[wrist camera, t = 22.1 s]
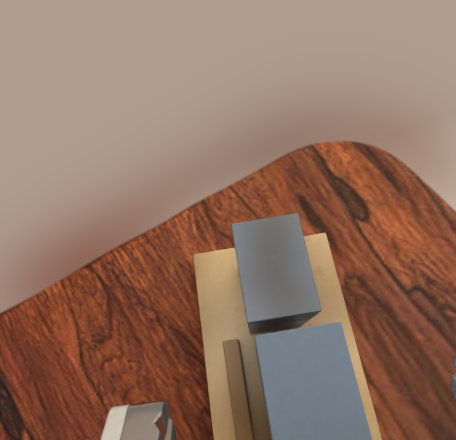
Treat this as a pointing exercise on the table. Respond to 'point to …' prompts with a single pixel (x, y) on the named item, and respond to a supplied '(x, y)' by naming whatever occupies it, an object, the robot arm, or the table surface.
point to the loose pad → (310, 385)
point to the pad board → (234, 326)
